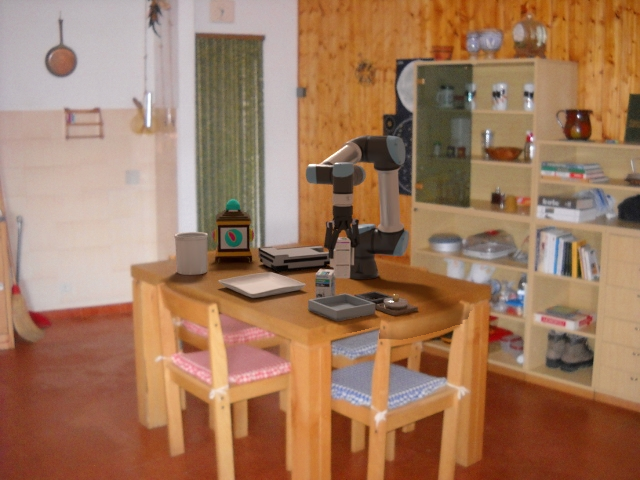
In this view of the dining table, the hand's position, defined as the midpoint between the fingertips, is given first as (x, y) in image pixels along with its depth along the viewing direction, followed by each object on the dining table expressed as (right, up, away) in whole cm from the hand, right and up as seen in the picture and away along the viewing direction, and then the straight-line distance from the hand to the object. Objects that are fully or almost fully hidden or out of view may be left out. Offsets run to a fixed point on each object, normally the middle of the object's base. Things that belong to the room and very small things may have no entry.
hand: (341, 265), depth 288 cm
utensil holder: (-67, -5, +67) cm, 94 cm away
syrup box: (0, -4, +1) cm, 4 cm away
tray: (0, -18, +3) cm, 18 cm away
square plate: (-33, -12, +36) cm, 50 cm away
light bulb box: (-6, -14, +23) cm, 28 cm away
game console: (-19, -3, +81) cm, 83 cm away
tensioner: (+17, -16, +12) cm, 26 cm away
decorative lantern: (-51, 0, +93) cm, 106 cm away
